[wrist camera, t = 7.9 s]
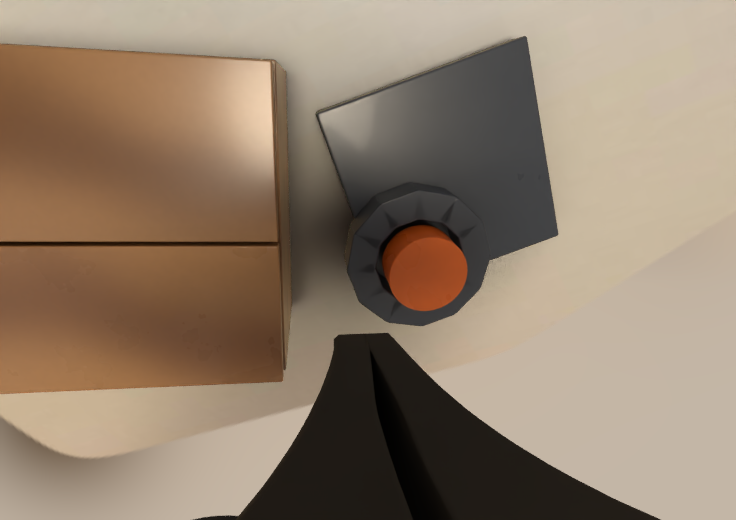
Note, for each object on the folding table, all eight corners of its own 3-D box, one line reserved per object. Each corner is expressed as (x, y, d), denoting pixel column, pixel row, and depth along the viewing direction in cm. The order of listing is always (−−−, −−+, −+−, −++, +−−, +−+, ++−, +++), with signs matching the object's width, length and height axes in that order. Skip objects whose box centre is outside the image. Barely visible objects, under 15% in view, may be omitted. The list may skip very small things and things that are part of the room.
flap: (283, 375, 15) (283, 381, 15) (-71, 390, 14) (-81, 398, 14) (279, 242, 14) (278, 246, 13) (-130, 241, 12) (-143, 246, 12)
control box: (548, 245, 21) (583, 267, 19) (367, 312, 22) (375, 343, 19) (512, 39, 18) (550, 28, 15) (292, 120, 18) (288, 124, 15)
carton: (291, 305, 21) (284, 383, 15) (35, 310, 19) (-82, 400, 14) (286, 70, 17) (273, 57, 11) (-37, 52, 15) (-243, 26, 10)
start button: (461, 278, 19) (475, 295, 17) (394, 302, 19) (402, 322, 17) (443, 213, 17) (457, 225, 16) (372, 240, 17) (378, 254, 16)
